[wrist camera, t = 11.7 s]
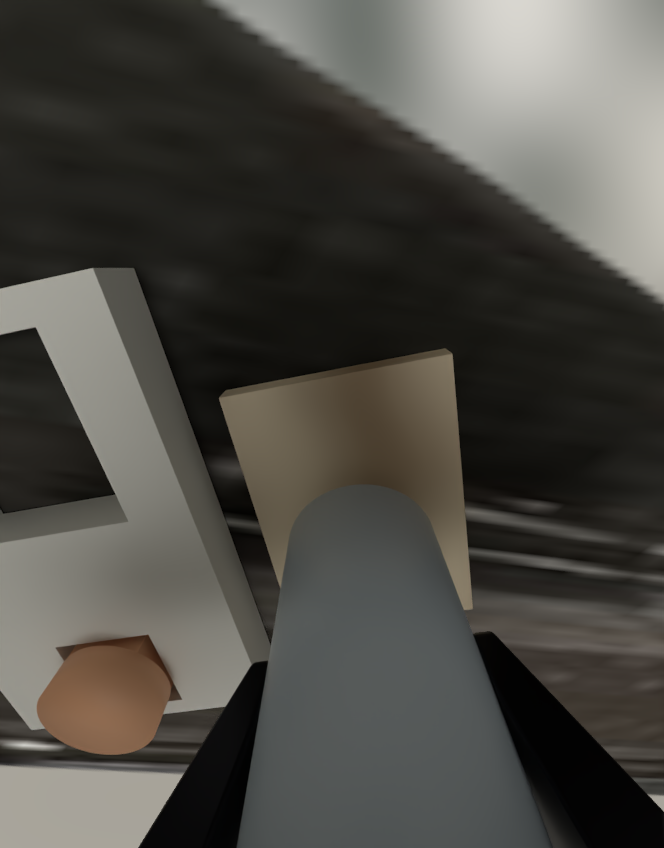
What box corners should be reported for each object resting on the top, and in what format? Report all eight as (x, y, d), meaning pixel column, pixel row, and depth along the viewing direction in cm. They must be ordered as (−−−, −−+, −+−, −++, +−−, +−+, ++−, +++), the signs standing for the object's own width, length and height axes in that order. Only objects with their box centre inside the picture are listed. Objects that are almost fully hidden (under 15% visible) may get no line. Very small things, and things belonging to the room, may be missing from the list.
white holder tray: (63, 681, 18) (31, 730, 16) (-173, 336, 12) (-268, 349, 10) (273, 653, 17) (266, 701, 15) (133, 268, 11) (93, 268, 9)
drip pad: (296, 616, 16) (294, 633, 15) (225, 390, 12) (218, 398, 12) (466, 592, 15) (472, 609, 15) (445, 348, 12) (452, 353, 11)
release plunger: (113, 678, 17) (69, 760, 14) (72, 611, 15) (14, 687, 12) (200, 666, 16) (173, 748, 14) (167, 597, 15) (129, 672, 12)
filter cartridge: (306, 610, 13) (250, 1288, 4) (272, 498, 11) (73, 1236, 3) (441, 591, 12) (669, 1287, 4) (427, 472, 11) (768, 1227, 2)
